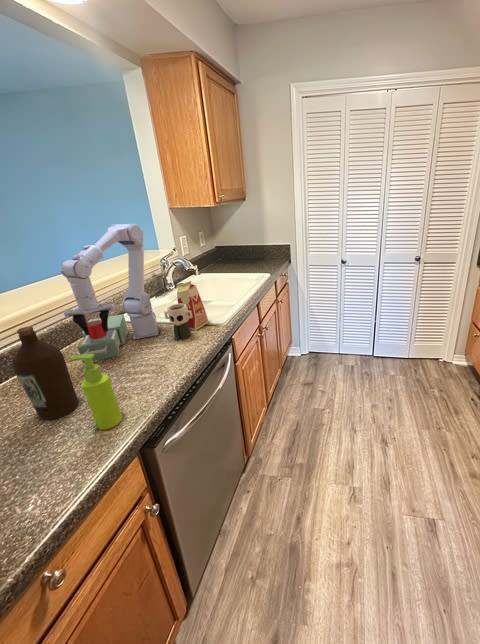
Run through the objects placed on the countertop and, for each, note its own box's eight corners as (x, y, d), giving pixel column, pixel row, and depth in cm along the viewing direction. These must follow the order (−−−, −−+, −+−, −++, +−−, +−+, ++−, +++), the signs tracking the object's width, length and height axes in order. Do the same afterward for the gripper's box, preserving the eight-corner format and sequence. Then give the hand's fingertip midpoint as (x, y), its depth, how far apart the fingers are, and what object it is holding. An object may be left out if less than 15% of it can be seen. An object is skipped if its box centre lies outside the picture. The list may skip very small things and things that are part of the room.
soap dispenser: (99, 415, 87) (75, 351, 79) (126, 413, 88) (104, 348, 80) (88, 430, 82) (61, 363, 74) (116, 428, 83) (92, 360, 74)
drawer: (117, 361, 112) (112, 346, 110) (80, 369, 109) (74, 353, 106) (123, 341, 127) (118, 327, 125) (90, 347, 124) (85, 333, 121)
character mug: (166, 341, 127) (159, 310, 122) (173, 333, 134) (166, 303, 129) (193, 340, 127) (187, 309, 122) (199, 332, 133) (193, 303, 128)
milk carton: (209, 321, 143) (201, 278, 135) (196, 330, 135) (187, 284, 127) (191, 319, 146) (183, 277, 138) (178, 328, 138) (168, 283, 130)
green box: (124, 344, 126) (119, 326, 123) (88, 351, 122) (81, 333, 119) (128, 331, 138) (123, 314, 135) (95, 336, 134) (89, 319, 131)
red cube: (108, 331, 116) (104, 318, 114) (105, 337, 112) (101, 324, 110) (91, 334, 115) (87, 321, 113) (88, 340, 110) (84, 327, 108)
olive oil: (65, 394, 97) (33, 318, 87) (89, 401, 94) (59, 322, 84) (27, 417, 88) (-13, 335, 78) (52, 425, 85) (14, 341, 75)
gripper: (56, 303, 102) (70, 341, 107) (107, 295, 106) (119, 332, 112) (62, 296, 108) (75, 333, 113) (110, 289, 112) (121, 325, 118)
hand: (97, 332), depth 113 cm, fingers closed on red cube, 5 cm apart
